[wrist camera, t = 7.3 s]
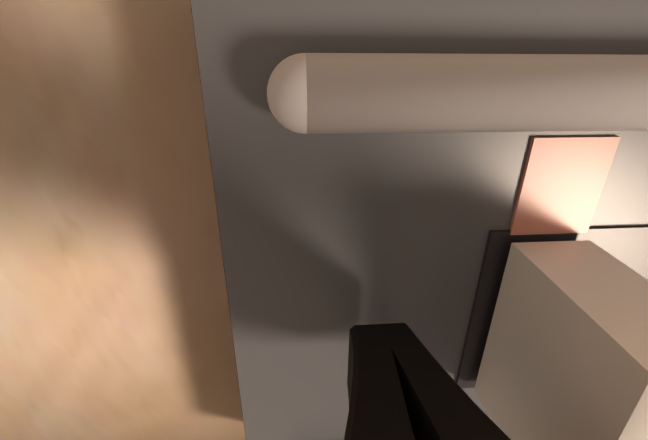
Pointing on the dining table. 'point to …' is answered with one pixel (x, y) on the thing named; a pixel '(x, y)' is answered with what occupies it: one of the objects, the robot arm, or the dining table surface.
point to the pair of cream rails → (459, 92)
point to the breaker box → (394, 193)
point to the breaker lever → (567, 346)
